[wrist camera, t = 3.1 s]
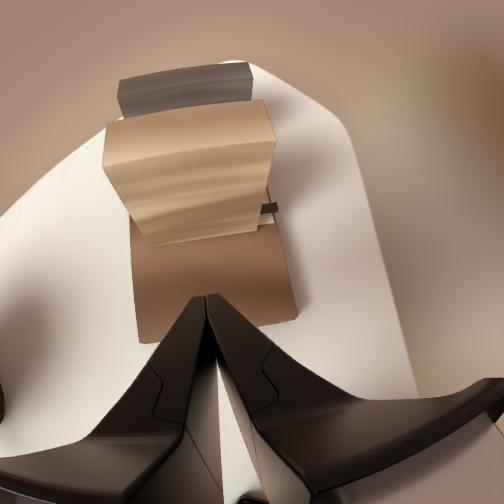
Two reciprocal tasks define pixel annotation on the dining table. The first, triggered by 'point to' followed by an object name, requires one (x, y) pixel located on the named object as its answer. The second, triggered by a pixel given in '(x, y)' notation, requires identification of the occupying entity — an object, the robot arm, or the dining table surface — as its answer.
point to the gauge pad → (192, 170)
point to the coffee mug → (1, 404)
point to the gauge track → (208, 249)
